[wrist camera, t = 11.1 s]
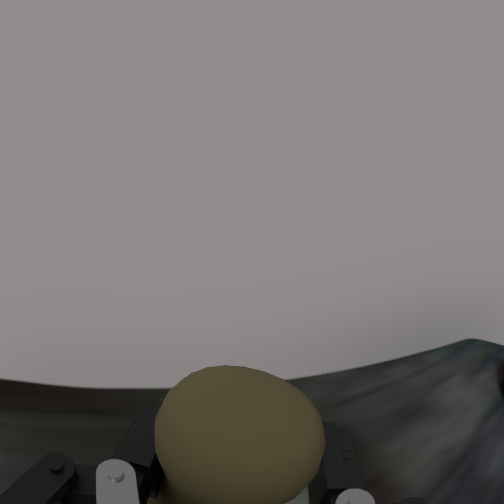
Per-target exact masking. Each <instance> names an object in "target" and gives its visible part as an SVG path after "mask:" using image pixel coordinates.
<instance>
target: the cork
mask: <svg viewBox="0 0 504 504" xmlns="http://www.w3.org/2000/svg"><path fill="white" fill-rule="evenodd" d="M154 435H155V451H156V454H157V457H158V460H159V462H160V464H161V466H162V468H163V470H162V477H161V485H160V491H159V494H158V497H157V500H156V499H153V498H150V499H149V501H148V504H285V503H287V502H289V501H290V500H292V499H294V498H296V497H297V495H298V494H299V493H300V492H301V491H302V490H303V489H304V488H305V487H306V486H307V485H308V484H309V483H310V482H311V480H312V479H313V478H314V476H315V475H316V474H317V473H318V469H319V466H320V463H321V460H322V456H323V453H324V449H325V445H326V441H325V435H324V429H323V424H322V420H321V416H320V414H319V412H318V411H317V409H316V407H315V406H314V404H313V402H312V401H311V400H310V399H309V398H308V397H307V396H305V395H304V394H303V393H302V392H301V391H300V390H299V389H298V388H296V387H294V386H293V385H291V384H290V383H288V382H286V381H285V380H283V379H281V378H278V377H276V376H274V375H271V374H269V373H267V372H264V371H260V370H255V369H251V368H247V367H240V366H227V365H226V366H225V365H224V366H216V367H207V368H204V369H202V370H199V371H196V372H194V373H191V374H190V375H188V376H187V377H186V378H184V379H183V380H182V381H180V382H179V383H178V384H177V385H176V386H174V387H173V388H172V389H171V390H170V391H169V392H168V393H167V395H166V397H165V399H164V401H163V403H162V405H161V407H160V409H159V411H158V414H157V416H156V418H155V429H154Z"/></svg>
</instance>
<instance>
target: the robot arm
mask: <svg viewBox="0 0 504 504" xmlns="http://www.w3.org/2000/svg"><path fill="white" fill-rule="evenodd" d="M163 401H164V399H162V398H160V399H159V400H158V402H157V404H156V406H155V408H154V409H152V408H148V407H145V408H143V409H142V410H141V411H139V412H138V413H137V414H136V415H135V417H134V419H133V421H132V423H131V424H130V426H129V428H128V431H127V432H126V434H125V436H124V437H123V439H122V441H121V443H120V445H119V447H118V449H117V450H116V452H115V454H114V456H113V458H112V459H111V460H107V461H104V462H102V463H101V464H100V465H99V466H86V465H77V464H74V463H73V461H72V460H71V459H70V458H69V457H68V456H66V455H64V454H62V453H50V454H47V455H45V456H44V457H43V458H42V459H40V460H39V461H38V462H37V463H36V464H35V465H34V466H33V467H32V468H30V469H29V470H28V471H27V472H26V473H25V474H24V475H23V476H21V477H20V478H19V479H18V480H17V481H16V482H15V483H14V484H13V485H11V486H10V487H9V488H8V489H7V490H6V491H5V492H4V493H2V494H1V495H0V504H147V501H148V498H153V499H156V500H157V497H158V494H159V491H160V485H161V477H162V470H163V468H162V466H161V464H160V462H159V460H158V457H157V454H156V451H155V435H154V429H155V418H156V416H157V414H158V411H159V409H160V407H161V405H162V403H163ZM321 420H322V424H323V429H324V435H325V441H326V445H325V449H324V453H323V456H322V460H321V463H320V466H319V469H318V473H317V474H316V475H315V476H314V478H313V479H312V480H311V482H310V483H309V484H308V496H309V504H395V503H388V502H381V501H378V500H375V499H374V498H373V497H372V495H371V494H369V493H368V492H367V491H365V489H364V486H363V481H362V477H361V473H360V469H359V465H358V461H357V456H356V452H355V448H354V444H353V440H352V439H351V438H350V437H349V435H348V434H347V433H346V432H337V428H336V423H335V420H333V419H321ZM399 504H428V503H427V502H426V501H424V500H423V499H421V498H417V497H409V498H406V499H403V500H402V501H401V502H400V503H399Z"/></svg>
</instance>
